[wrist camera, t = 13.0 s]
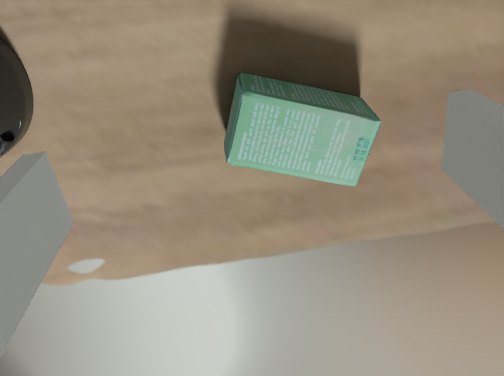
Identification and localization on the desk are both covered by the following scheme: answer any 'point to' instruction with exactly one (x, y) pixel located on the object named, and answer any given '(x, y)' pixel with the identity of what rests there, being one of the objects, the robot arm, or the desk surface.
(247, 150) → the box
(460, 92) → the robot arm
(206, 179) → the desk surface
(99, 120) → the desk surface
